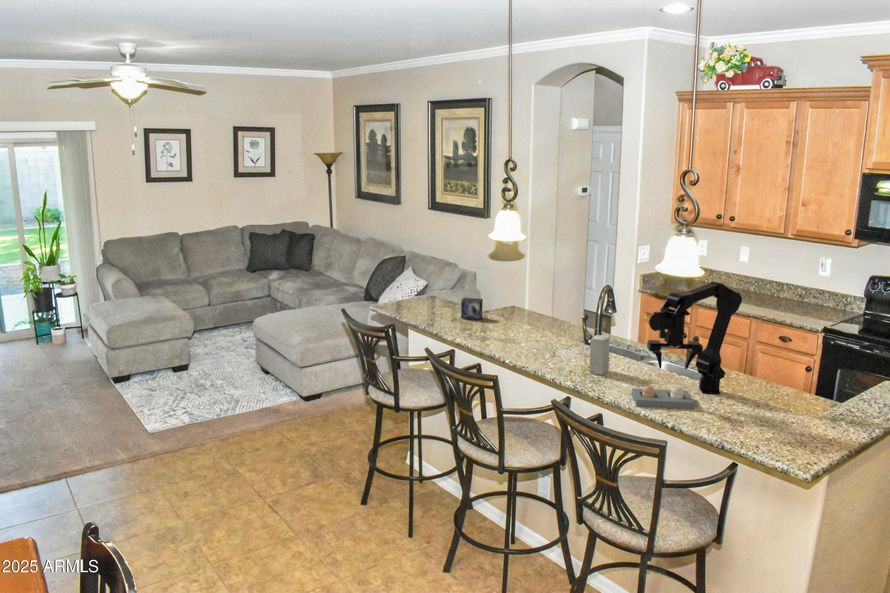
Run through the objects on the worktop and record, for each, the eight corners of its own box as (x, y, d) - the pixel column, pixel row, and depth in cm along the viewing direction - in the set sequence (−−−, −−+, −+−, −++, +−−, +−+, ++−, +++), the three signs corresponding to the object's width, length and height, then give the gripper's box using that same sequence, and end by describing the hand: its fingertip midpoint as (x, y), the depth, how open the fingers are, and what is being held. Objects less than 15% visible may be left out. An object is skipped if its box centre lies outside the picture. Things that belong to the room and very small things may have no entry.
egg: (681, 400, 258) (682, 385, 257) (683, 404, 254) (684, 389, 252) (668, 399, 258) (669, 385, 257) (671, 404, 254) (672, 389, 253)
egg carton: (686, 397, 261) (688, 382, 260) (693, 409, 250) (695, 393, 248) (631, 394, 264) (632, 379, 262) (636, 406, 252) (637, 391, 251)
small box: (460, 319, 375) (460, 299, 373) (463, 316, 381) (464, 297, 379) (479, 320, 372) (480, 301, 370) (482, 317, 378) (483, 298, 376)
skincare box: (602, 375, 285) (604, 340, 282) (588, 373, 288) (590, 338, 285) (608, 369, 292) (610, 335, 289) (594, 367, 295) (596, 333, 292)
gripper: (696, 322, 261) (693, 362, 264) (645, 321, 263) (643, 361, 266) (704, 330, 250) (701, 372, 254) (651, 329, 252) (648, 370, 255)
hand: (673, 368), depth 257 cm, fingers open, 9 cm apart
